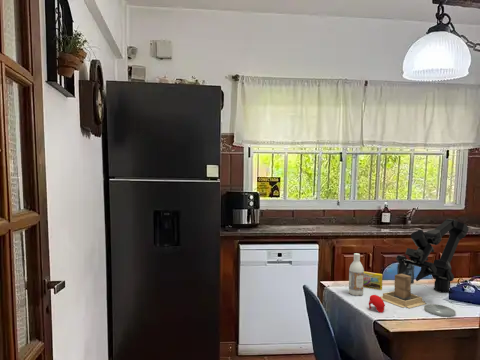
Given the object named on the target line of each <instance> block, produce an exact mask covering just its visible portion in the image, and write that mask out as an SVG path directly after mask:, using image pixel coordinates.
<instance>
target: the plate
mask: <svg viewBox="0 0 480 360" xmlns="http://www.w3.org/2000/svg"><path fill="white" fill-rule="evenodd" d="M423 307H424V308H423V309H424V311H425V312H427V313H428V314H430V315H434V316H436V317H437V316H438V317H443V318H444V317H445V318H451V317H455V316H456V314H457V313H456V310H455V309H453V308H452V307H448V306H445V305H442V304H434V303H433V304H432V303H430V304H425V305H423Z"/></svg>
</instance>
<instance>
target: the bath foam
mask: <svg viewBox="0 0 480 360" xmlns="http://www.w3.org/2000/svg"><path fill="white" fill-rule="evenodd" d="M364 271H365V269H364V266H363V264H362V262H361V254H360V253H357V252H356V253H353V261H352V262H351V263H350V265H349V270H348V293H349V294H350V295H352V296H355V297H358V296H363V295H364V288H365V287H364Z"/></svg>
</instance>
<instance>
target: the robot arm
mask: <svg viewBox="0 0 480 360" xmlns="http://www.w3.org/2000/svg"><path fill="white" fill-rule="evenodd" d="M468 232H469V226H468V225H467V224H466V223H463V222H460V221H458V220H456V219H451V218H446V219H445V220H444V221H443V222H442V223H441V224H439V225H437V227H435V228H434V229H430V230H426V231H425V232H424V230H423V229H418V230H416V231H413V232H412V233H411V234H410V238H411V240H412V241H413V243H414V244H415V246H416V247H417V248H416V249H413V248H409V247H407V248H406V251H405V255H400V254H399V255H397V256H396V257H395V260H396V261H397V264H399V273H398V274H403V272H404V271H405V270H406V269H407V266H408V265H409V264H410V265H414V267H417V268H420V270H419V272H418V273H417V276H416V277H415V281H416V282H418V281H420V280H422V279H424V278H427V277H428V276H432V278H434V279H435V280H434V287H432V289H433V290H435V291H437V292H439V293H449V292H448V291H449V288H450V289H451V282H453V281H454V279H455V276H454V274H453V273H452V266H451V262H452V260H453V257H454V254H455V252H456V250H457V247H458V245H459V243H460V241H461V240H462V239H463V238H465V237H466V236H467V233H468ZM447 233H449V237H448V239H447V241H446V244H445V247H444V249H443V251H442V253H441V255H440V258H439V259H437V258H436V259H434V260H433V262H430V261H429V256H430V254H431V253H435V248H434V247H433V246H432V245H434V246H438V245H439V244H440V243H441V242H442V238H443V236H445V235H446V234H447ZM406 256H408V258H407V257H406Z"/></svg>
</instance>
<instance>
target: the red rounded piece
mask: <svg viewBox="0 0 480 360" xmlns="http://www.w3.org/2000/svg"><path fill="white" fill-rule="evenodd" d="M384 302H385V301H383V300H382V299H381V298H380V296H379V295H377V294H372V295H371V294H370V296H369V301H368V307H369V309H370V310H372V305H373V306H374V307H375V309H376V311H377V312H378V313H381V314H382V313H383V312H385V306H386V304H385V303H384Z"/></svg>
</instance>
